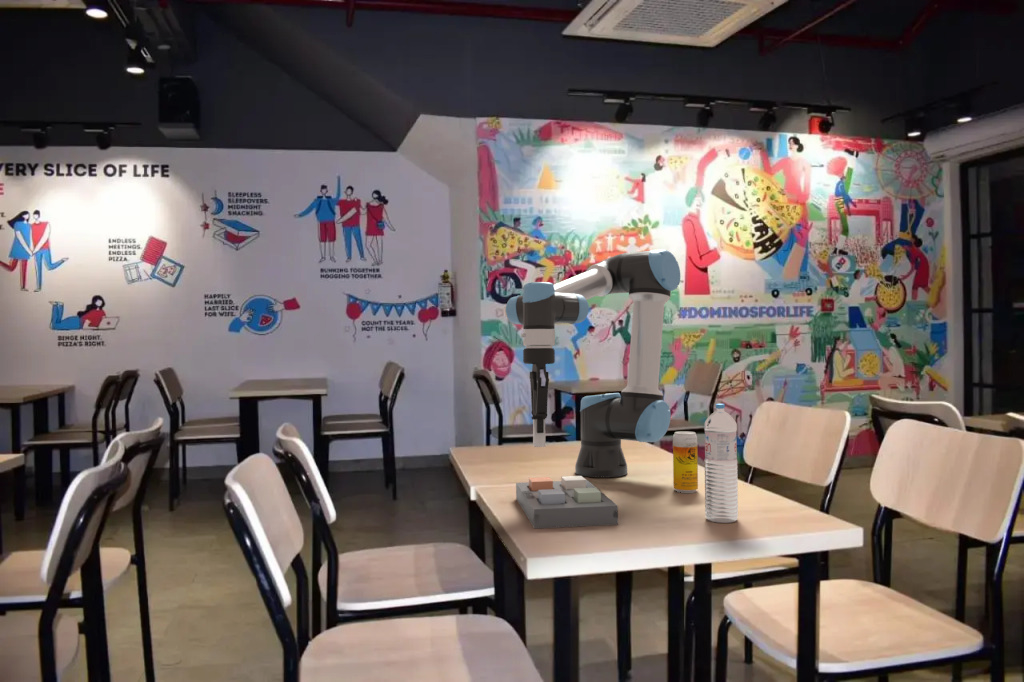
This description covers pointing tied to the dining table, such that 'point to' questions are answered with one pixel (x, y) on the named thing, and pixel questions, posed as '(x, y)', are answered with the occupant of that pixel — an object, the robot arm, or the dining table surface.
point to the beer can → (685, 462)
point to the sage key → (587, 495)
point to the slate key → (551, 496)
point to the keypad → (566, 509)
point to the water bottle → (721, 467)
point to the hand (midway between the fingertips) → (539, 446)
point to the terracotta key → (540, 483)
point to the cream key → (573, 482)
